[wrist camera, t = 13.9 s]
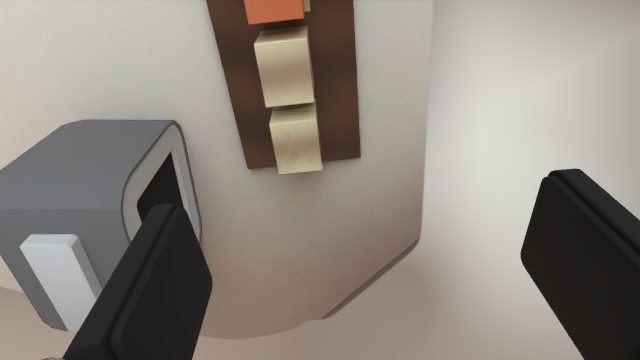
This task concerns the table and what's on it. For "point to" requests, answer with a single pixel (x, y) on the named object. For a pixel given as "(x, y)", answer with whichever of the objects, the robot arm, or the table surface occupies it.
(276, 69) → the cream wooden block
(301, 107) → the beige wooden cube
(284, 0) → the terracotta orange cube
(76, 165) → the alarm clock
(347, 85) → the word board
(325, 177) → the table surface
